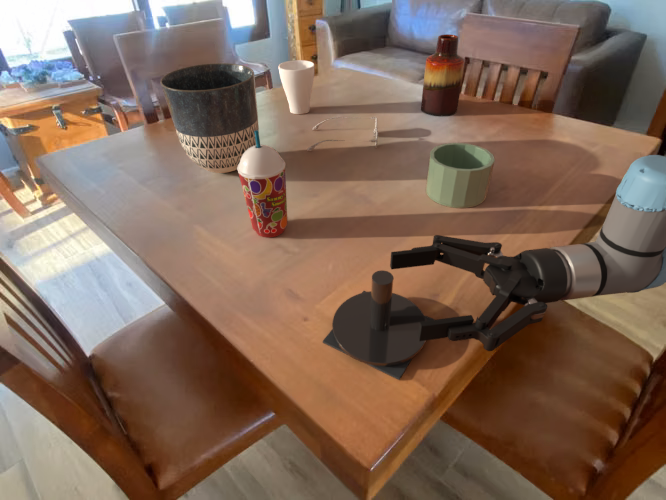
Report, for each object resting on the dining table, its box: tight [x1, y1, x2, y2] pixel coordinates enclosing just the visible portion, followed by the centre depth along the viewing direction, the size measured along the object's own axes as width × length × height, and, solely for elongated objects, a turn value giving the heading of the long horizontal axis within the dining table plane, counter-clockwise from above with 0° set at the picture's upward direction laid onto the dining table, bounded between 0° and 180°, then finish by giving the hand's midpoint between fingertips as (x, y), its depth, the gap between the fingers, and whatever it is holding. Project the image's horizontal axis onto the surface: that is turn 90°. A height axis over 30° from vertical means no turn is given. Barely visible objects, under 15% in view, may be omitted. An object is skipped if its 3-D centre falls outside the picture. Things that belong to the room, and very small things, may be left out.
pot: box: [425, 142, 496, 209], centre depth 89 cm, size 13×13×8 cm
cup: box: [277, 59, 315, 115], centre depth 128 cm, size 10×10×14 cm
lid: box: [331, 269, 427, 366], centre depth 59 cm, size 14×14×10 cm
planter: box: [159, 62, 260, 174], centre depth 97 cm, size 20×20×21 cm
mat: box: [322, 290, 435, 381], centre depth 62 cm, size 12×12×1 cm
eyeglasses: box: [306, 116, 379, 152], centre depth 113 cm, size 15×18×4 cm
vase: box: [420, 33, 466, 117], centre depth 123 cm, size 11×11×20 cm
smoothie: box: [236, 130, 288, 238], centre depth 77 cm, size 8×8×20 cm
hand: (403, 293), depth 57 cm, fingers open, 13 cm apart
